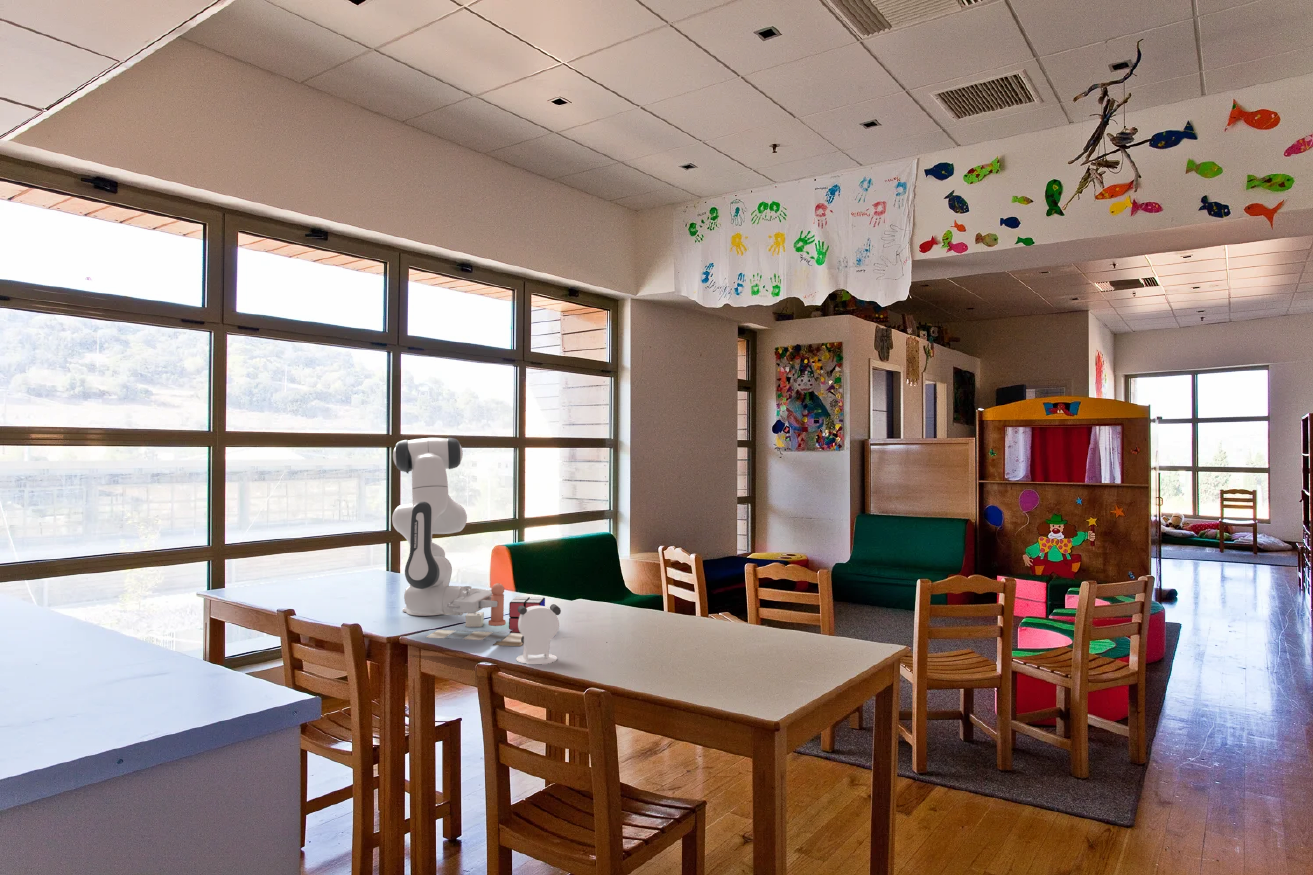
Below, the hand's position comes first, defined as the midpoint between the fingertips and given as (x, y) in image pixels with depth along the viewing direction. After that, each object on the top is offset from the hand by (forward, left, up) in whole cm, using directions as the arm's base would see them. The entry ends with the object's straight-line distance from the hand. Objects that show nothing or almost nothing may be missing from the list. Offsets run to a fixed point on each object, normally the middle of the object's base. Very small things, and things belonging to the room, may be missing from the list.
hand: (500, 602), depth 247 cm
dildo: (0, -1, -7) cm, 7 cm away
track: (0, -7, -12) cm, 14 cm away
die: (-14, -13, -12) cm, 23 cm away
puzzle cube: (-16, +4, -12) cm, 21 cm away
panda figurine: (+19, +17, -12) cm, 28 cm away
